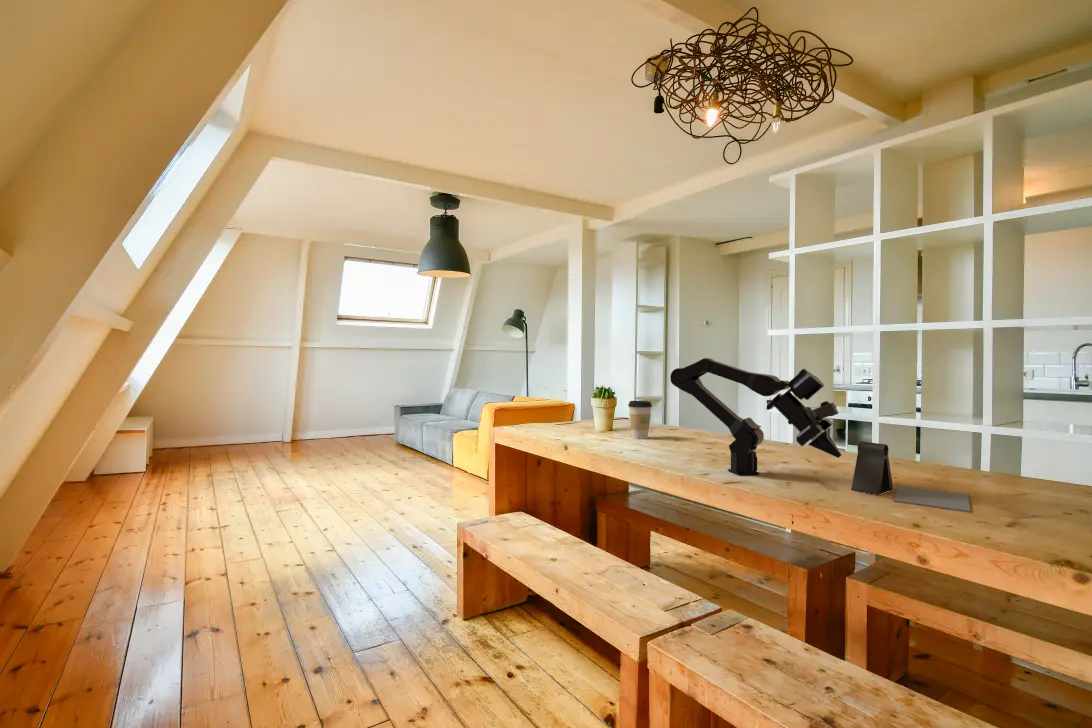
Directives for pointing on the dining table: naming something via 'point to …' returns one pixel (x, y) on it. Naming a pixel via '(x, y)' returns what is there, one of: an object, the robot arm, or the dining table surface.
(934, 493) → the mat
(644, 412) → the coffee cup
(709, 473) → the dining table surface
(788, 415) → the robot arm
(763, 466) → the dining table surface
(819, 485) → the dining table surface
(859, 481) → the dark tent sign
